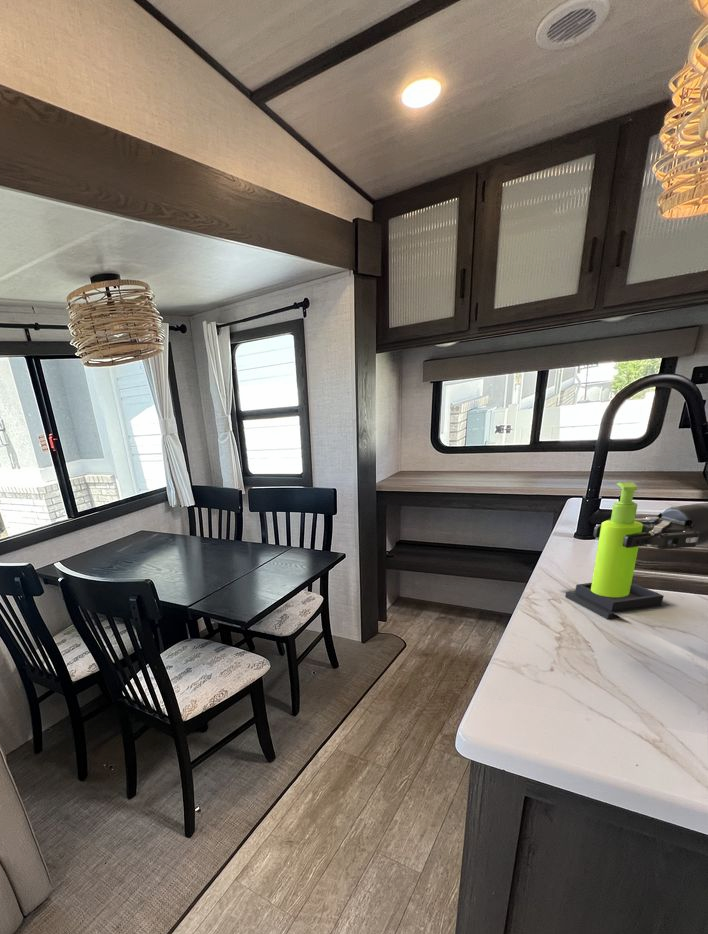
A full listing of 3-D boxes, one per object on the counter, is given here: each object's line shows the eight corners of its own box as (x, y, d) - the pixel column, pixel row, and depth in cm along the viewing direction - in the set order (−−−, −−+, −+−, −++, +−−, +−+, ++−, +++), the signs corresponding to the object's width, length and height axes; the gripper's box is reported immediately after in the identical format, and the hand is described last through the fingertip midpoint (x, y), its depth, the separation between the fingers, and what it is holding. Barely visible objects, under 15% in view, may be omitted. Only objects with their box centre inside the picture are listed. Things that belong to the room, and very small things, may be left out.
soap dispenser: (624, 584, 90) (644, 479, 82) (632, 598, 84) (655, 486, 77) (587, 583, 92) (603, 481, 85) (593, 596, 87) (611, 488, 79)
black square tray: (621, 589, 108) (624, 576, 106) (669, 610, 97) (674, 596, 95) (565, 596, 106) (567, 583, 105) (607, 619, 95) (610, 605, 94)
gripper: (663, 496, 90) (582, 507, 89) (744, 513, 77) (650, 526, 76) (653, 534, 93) (575, 545, 92) (729, 556, 80) (639, 569, 79)
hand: (610, 536), depth 84 cm, fingers closed on soap dispenser, 6 cm apart
